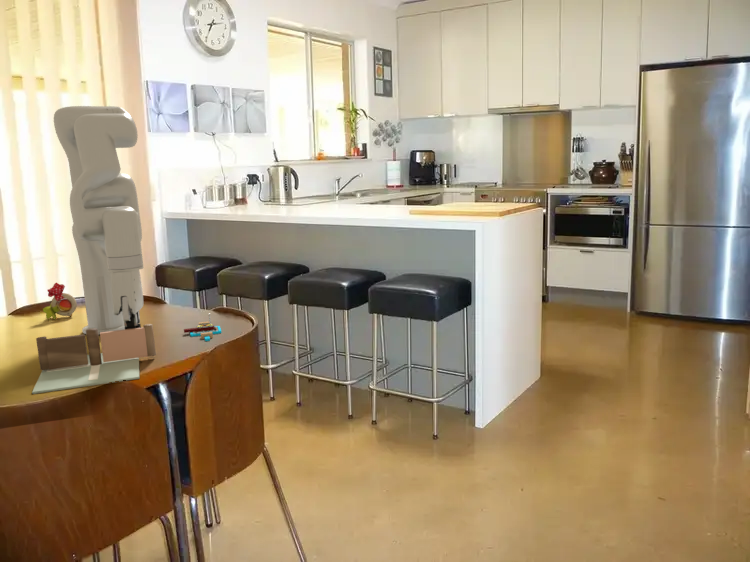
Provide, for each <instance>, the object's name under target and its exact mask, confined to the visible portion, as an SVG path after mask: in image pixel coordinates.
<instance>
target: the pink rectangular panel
mask: <svg viewBox="0 0 750 562" xmlns="http://www.w3.org/2000/svg"><path fill="white" fill-rule="evenodd" d="M153 325H154V324H152V323H145V324H143V326H141V328H133V329H125V330H116V331H108V332H100V335H99V339H100V345H101V346H100V347H101V353H102V354H103V362H110V361H117V360H125V359H132V358H139V359H141V358H146V357H154V356H156V355H157V352H156V344H155V343H156V342H155V335H154V334H155V333H154V326H153Z"/></svg>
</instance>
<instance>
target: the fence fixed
mask: <svg viewBox="0 0 750 562" xmlns="http://www.w3.org/2000/svg"><path fill="white" fill-rule="evenodd" d="M35 340H36V346H37V355H38V360H39V361H38V362H39V368H40V369H39V370H41V371H42V370H50V369H57V368H65V367H72V366H80V365H87V364H88V356H87V355H89V358H90V365H92V366H94V365H101V364H102V360H101V353H102V351H101V346H100V345H101V343H100V335H98V329H97V328H92V329H87V330H86V334H84V333H83V334H76V335H69V336H61V337H51V338H50V337H49V338H47V336H39V337H36V338H35Z"/></svg>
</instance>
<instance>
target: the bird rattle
mask: <svg viewBox="0 0 750 562" xmlns="http://www.w3.org/2000/svg"><path fill="white" fill-rule="evenodd" d="M65 287H66V286H65V284H59V283H58V282H55V283H54V284H53V285H52V287H50V288H49V289H47V292H48V293H47V296H48V297H49V298H52V297H53V298H52V299H51V302H50V304H49V305H48V306H45V307H44V308H42V311H43V313H45V318H46V319H48V320H49V319H51V317H52V319H53V320H55V319H56V318H57V319H58V317H57V315H59V316H62V317H69V316H71V317H72V316H73V313H74V312H75V311H76V310H77V306H78V305H77V304H78V303H77V299H76V298H75V297H74V296H73V295H71V294H70V293H65V292H64V289H65ZM56 314H57V315H56ZM57 319H56V320H57Z"/></svg>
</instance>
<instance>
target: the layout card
mask: <svg viewBox="0 0 750 562" xmlns="http://www.w3.org/2000/svg"><path fill="white" fill-rule="evenodd" d="M87 356H88V364H87V365H80V366H72V367H65V368H57V369H50V370H41V373H40V375H39V377H38V379H37V381H36V383H35V385H34V387H33V390H32V391H31V392H32V395H35V394H42V393H43V394H44V393H49V392H55V391H57V392H58V391H63V390H70V389H71V390H72V389H77V388H83V387H89V386H96V385H97V386H98V385H104V384H110V383H109V382H112V383H116V382H115V381H119V382H124V381H123V380H126V381H132V380H139V379H140V358H132V359H125V360H117V361H110V362H103V354H102V352H101V360H102V364H101V365H94V366H92V365H90V358H89V354H87Z"/></svg>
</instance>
